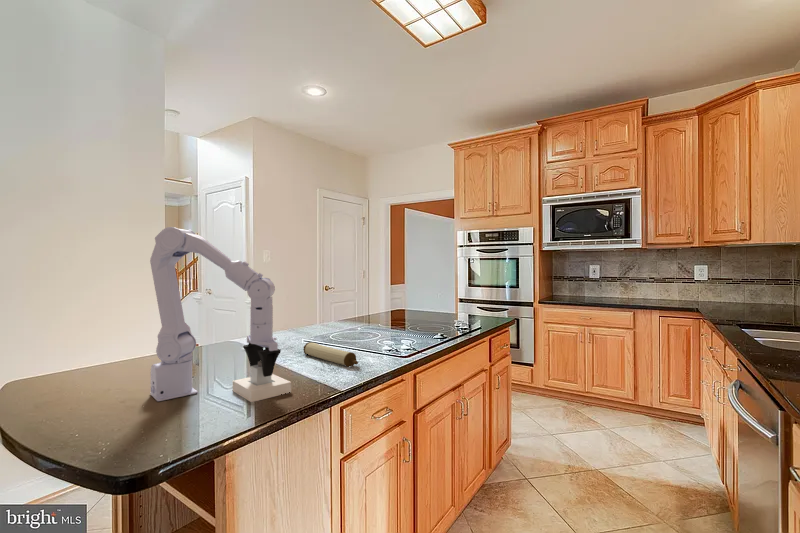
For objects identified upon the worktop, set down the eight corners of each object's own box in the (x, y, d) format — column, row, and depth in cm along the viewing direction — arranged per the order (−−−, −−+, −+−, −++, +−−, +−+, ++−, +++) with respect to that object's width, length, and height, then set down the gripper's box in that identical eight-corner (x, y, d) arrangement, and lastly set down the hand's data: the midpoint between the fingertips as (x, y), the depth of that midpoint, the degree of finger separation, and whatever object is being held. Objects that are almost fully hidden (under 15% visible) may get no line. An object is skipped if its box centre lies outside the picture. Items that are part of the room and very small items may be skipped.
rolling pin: (297, 354, 151) (297, 341, 151) (310, 352, 155) (310, 339, 155) (351, 371, 128) (351, 355, 128) (364, 368, 132) (364, 353, 132)
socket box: (251, 402, 99) (251, 389, 99) (232, 390, 108) (232, 379, 108) (291, 392, 107) (291, 380, 107) (270, 382, 116) (270, 371, 116)
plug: (257, 395, 104) (257, 364, 104) (250, 391, 107) (250, 361, 107) (271, 391, 107) (271, 361, 107) (264, 388, 110) (264, 359, 110)
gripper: (288, 324, 105) (288, 375, 105) (263, 318, 115) (263, 364, 115) (262, 327, 100) (262, 381, 100) (239, 320, 110) (239, 369, 110)
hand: (261, 372), depth 107 cm, fingers open, 7 cm apart
